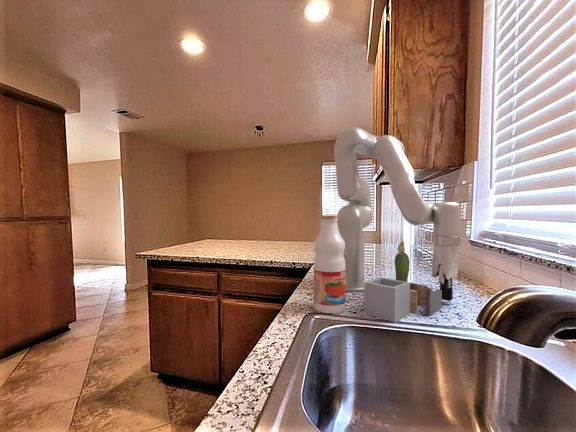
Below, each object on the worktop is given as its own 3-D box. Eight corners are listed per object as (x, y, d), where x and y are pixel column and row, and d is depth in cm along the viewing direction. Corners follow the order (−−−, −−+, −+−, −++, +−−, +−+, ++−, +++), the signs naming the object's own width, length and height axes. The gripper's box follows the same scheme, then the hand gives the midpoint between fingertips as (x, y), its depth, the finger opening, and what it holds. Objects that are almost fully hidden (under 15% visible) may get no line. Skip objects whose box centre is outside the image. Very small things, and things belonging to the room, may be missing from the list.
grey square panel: (425, 315, 80) (425, 288, 80) (437, 307, 87) (437, 282, 87) (429, 316, 79) (429, 289, 79) (441, 308, 86) (441, 283, 86)
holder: (380, 303, 90) (380, 284, 90) (394, 297, 97) (394, 279, 96) (415, 312, 82) (415, 291, 82) (428, 305, 89) (428, 285, 89)
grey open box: (364, 313, 81) (364, 282, 81) (380, 306, 88) (380, 277, 88) (395, 322, 75) (395, 288, 75) (409, 313, 81) (409, 282, 81)
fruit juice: (327, 301, 92) (327, 215, 92) (351, 309, 85) (352, 215, 85) (307, 308, 86) (307, 215, 85) (331, 317, 79) (331, 215, 78)
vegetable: (394, 301, 93) (395, 239, 92) (409, 302, 91) (409, 240, 91) (394, 305, 89) (394, 240, 88) (409, 307, 87) (409, 241, 87)
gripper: (442, 239, 98) (441, 292, 98) (424, 242, 88) (424, 301, 88) (467, 240, 92) (466, 297, 93) (451, 244, 82) (451, 307, 82)
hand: (446, 299), depth 90 cm, fingers closed
